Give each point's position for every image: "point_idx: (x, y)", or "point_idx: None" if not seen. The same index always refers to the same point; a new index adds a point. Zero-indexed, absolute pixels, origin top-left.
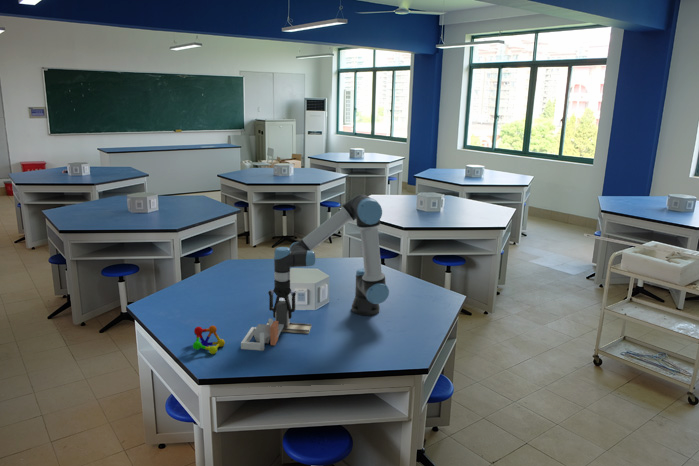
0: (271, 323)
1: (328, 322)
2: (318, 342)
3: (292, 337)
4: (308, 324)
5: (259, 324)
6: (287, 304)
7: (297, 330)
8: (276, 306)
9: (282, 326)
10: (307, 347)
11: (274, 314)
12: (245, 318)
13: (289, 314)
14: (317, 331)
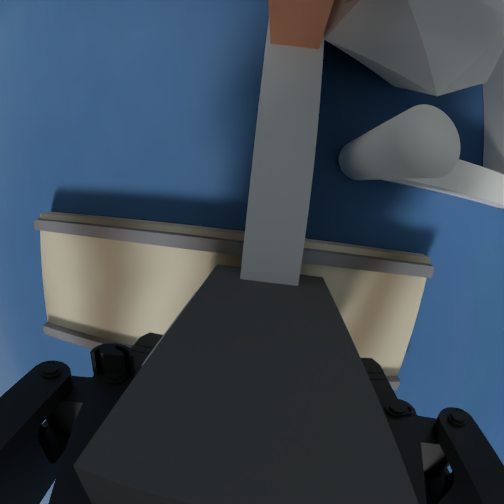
0: (391, 119)
1: (10, 373)
2: (6, 94)
3: (152, 123)
4: (58, 330)
5: (502, 6)
6: (84, 492)
7: (112, 226)
8: (392, 459)
9: (247, 220)
10: (63, 13)
11: (373, 382)
12: (498, 413)
13: (141, 364)
14: (15, 254)
